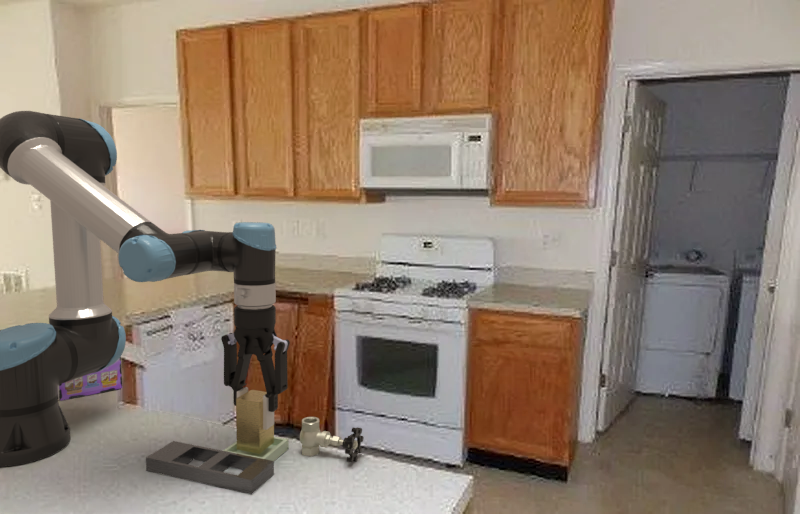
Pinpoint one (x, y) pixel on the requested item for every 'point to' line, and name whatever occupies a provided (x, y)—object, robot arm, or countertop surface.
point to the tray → (268, 454)
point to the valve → (328, 439)
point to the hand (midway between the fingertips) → (255, 424)
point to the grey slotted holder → (210, 466)
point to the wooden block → (252, 423)
